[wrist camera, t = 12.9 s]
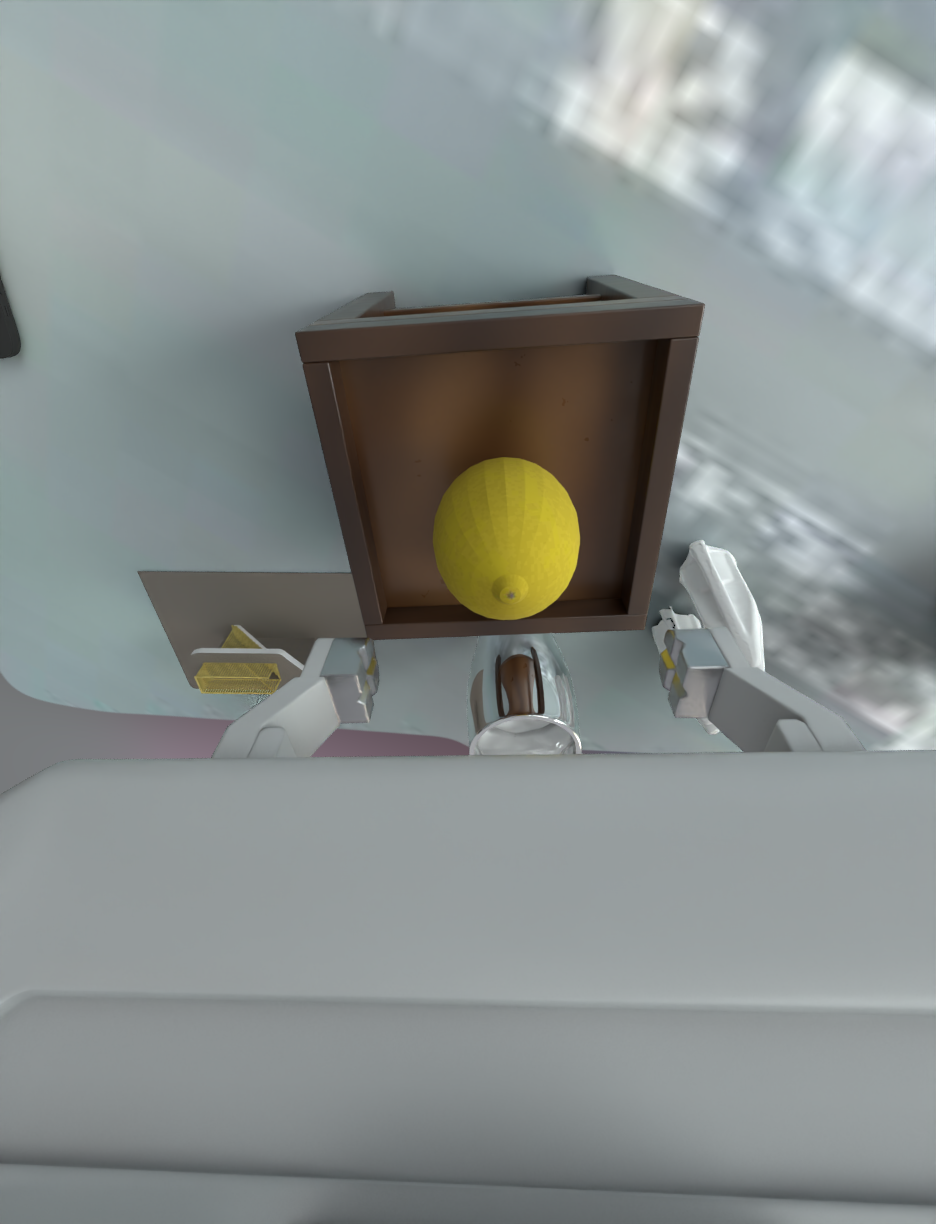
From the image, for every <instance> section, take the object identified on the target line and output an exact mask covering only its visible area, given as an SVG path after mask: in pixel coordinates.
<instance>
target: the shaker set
mask: <svg viewBox="0 0 936 1224" xmlns="http://www.w3.org/2000/svg"><path fill="white" fill-rule="evenodd" d="M689 550H690V551H689V554H688V556H687V558H686V560H685V562H684V563H683V564H682V566H681V567H680V579H679V580H680V583H681V584H682V585H683V586H684V587H686V589H687V591H688V593H689V595H690V597H691V599H692V601H693V603H694V605H695V607H696V610H697V612H698V614H699V616H700V619H701V621H702V623H703V626H704V628H713V627H726V628H727V629H729V631H730V633H731V634H732V636H733V638H734V639H735V641H736V643H737V644H738V646H739V647H740V649H741V651H742V652H743V654H744V656H745V657H746V659H747V661H748V662H749V664H750V666H751V667H758V668H759V669H761V670H763V671H764V672H765V662H764V648H763V634H762V622H761V618H760V615H759V612H758V609H757V605H756V603H755V600H754V598H753V596H752V594H751V592H750V590H749V588H748V586H747V584H746V583H745V580H744V579H743V577H742V575H741V573H740V571H739V570H738V568H737V566H736V560H735V558H734V557H733V555H732V554H731V553H730V552H729V551H727V550H725V549H720V548H716V547H712V546H708V545H705V542H704V541H703V540H698V541H695V542H693V543H691V544H690V546H689ZM668 607H670V608H671V609H670V610H669V609H662V610H660V612H659V613H660V614H661V616H662V618H663V619H662V620H661V621H660V623H659V624H658V625H657V626H653V627H652V632H653V638H654V639H655V643H656V644H657V647H658V650H659V653H660V655H661V653H662V652H663V651H664V650H665V649H666V646H665V643H664V637H665V633H666V632H667V630H669V629H674V628H672V626H673V627H674V624H675V625H676V626H675V629H700V628H701V623H700V621H699V620H698V619H697V618H696V617H695V616H694V615H693V614H689V615H688V616H687V615H680V614H679V615H678V614H675V613H674V611H673V610H672V607H671V606H668ZM667 618H672V619H673V623H674V624H673V623H672V622H671V619H670V620H666V619H667ZM696 719H697V720H698V722H699V723H700V724H701V725H702V727H703V728H704V729H705V730H706V732H707V733H708V734H710V735H714V734H717V733H718V732H719V731H720V730H719V729H718V728H717V727H716V726H714V725H713V724H712V723H711V722H710V721H709V720H708V718H696Z"/></svg>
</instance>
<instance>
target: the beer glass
mask: <svg viewBox="0 0 936 1224" xmlns="http://www.w3.org/2000/svg"><path fill="white" fill-rule="evenodd" d="M467 724H468V736H469V755H543V754H581V753H582V744H581V740H580V731H579V719H578V710H577V703H576V697H575V691H574V687H573V683H572V680H571V676H570V673H569V670H568V667H567V665H566V662H565V660H564V657H563V655H562V653H561V651H560V649H559V647H558V645H557V642H556V640H555V638H554V636H553V634H552V633H546V634H519V635H492V636H479V638H478V642H477V646H476V649H475V653H474V656H473V660H472V664H471V669H470V674H469V679H468V688H467Z"/></svg>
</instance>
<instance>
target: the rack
mask: <svg viewBox="0 0 936 1224" xmlns="http://www.w3.org/2000/svg"><path fill="white" fill-rule="evenodd" d="M704 308H705V304H704V303H701V302H698V301H695V300H691V299H688V298H685V297H682V296H679V295H676V294H673V293H670V292H667V291H664V290H661V289H658V288H654V287H651V286H648V285H645V284H642V283H639V282H636V281H633V280H630V279H627V278H624V277H620V276H617V275H606V276H592V277H588V278H587V289H586V295H577V296H563V297H549V298H536V299H522V300H508V301H494V302H480V303H466V304H452V305H438V306H424V307H410V308H396V307H395V299H394V293H393V291H389V292H375V293H366V294H364V295H363V296H361V297H359V298H357V299H355V300H353V301H352V302H350V303H348V304H346V305H344V306H343V307H341V308H339V309H337V310H335V311H333V312H332V313H330V314H328V315H326V316H324V317H323V318H321V319H319V320H317V321H315V322H314V323H312V324H310V325H308V326H306V327H304V328H303V329H301V330H299V331H297V332H295V336H296V340H297V345H298V349H299V353H300V357H301V361H302V362H303V370H304V374H305V378H306V383H307V387H308V391H309V395H310V399H311V404H312V408H313V412H314V416H315V420H316V425H317V429H318V433H319V437H320V442H321V446H322V450H323V454H324V458H325V463H326V467H327V471H328V475H329V479H330V484H331V488H332V492H333V496H334V501H335V505H336V509H337V513H338V517H339V522H340V526H341V530H342V534H343V539H344V543H345V547H346V551H347V555H348V560H349V564H350V568H351V572H352V576H353V581H354V585H355V589H356V593H357V598H358V602H359V606H360V610H361V614H362V619H363V623H364V627H365V631H366V635H367V638H371V639H372V640H384V639H411V638H438V637H465V636H492V635H519V634H546V633H572V632H599V631H626V630H644V629H645V625H646V620H647V613H648V609H649V604H650V599H651V593H652V588H653V583H654V577H655V572H656V566H657V561H658V556H659V550H660V545H661V540H662V534H663V529H664V524H665V518H666V513H667V507H668V502H669V497H670V491H671V486H672V481H673V475H674V470H675V464H676V459H677V454H678V448H679V443H680V438H681V432H682V427H683V422H684V416H685V411H686V405H687V400H688V395H689V389H690V384H691V379H692V373H693V368H694V363H695V357H696V352H697V346H698V341H699V337H697V336H699V334H700V330H701V324H702V319H703V314H704ZM500 457H508V458H520V459H523V460H526V461H529V462H532V463H535V464H537V465H539V466H540V467H542V468H543V469H545V470H546V471H548V472H549V473H551V474H552V475H553V476H554V477H555V478H556V479H557V480H558V482H559V483H560V484H561V485H562V486H563V487H564V489H565V490H566V491H567V493H568V495H569V497H570V499H571V502H572V504H573V506H574V508H575V510H576V513H577V517H578V525H579V532H580V546H579V553H578V559H577V565H576V568H575V571H574V573H573V575H572V578H571V580H570V582H569V584H568V586H567V588H566V589H565V590H564V591H563V593H562V594H561V595H560V596H559V598H558V599H557V600H556V601H554V602H553V603H552V604H551V605H549V606H548V607H547V608H545V609H544V610H542V611H540V612H538V613H536V614H534V615H532V616H529V617H525V618H521V619H517V620H498V619H492V618H487V617H485V616H482V615H479V614H477V613H475V612H473V611H471V610H470V609H468V608H467V607H466V606H464V605H463V604H461V603H460V602H459V601H458V600H457V599H456V598H455V596H454V595H453V594H452V593H451V592H450V591H449V589H448V588H447V586H446V584H445V582H444V580H443V578H442V576H441V574H440V572H439V570H438V567H437V563H436V558H435V553H434V547H433V530H434V520H435V515H436V512H437V510H438V507H439V505H440V502H441V500H442V497H443V495H444V493H445V492H446V491H447V489H448V488H449V487H450V485H451V484H452V483H453V481H454V480H455V479H456V478H457V477H458V476H460V475H461V474H462V473H463V472H465V471H466V470H467V469H468V468H470V467H471V466H474V465H476V464H478V463H480V462H482V461H485V460H489V459H495V458H500Z"/></svg>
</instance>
